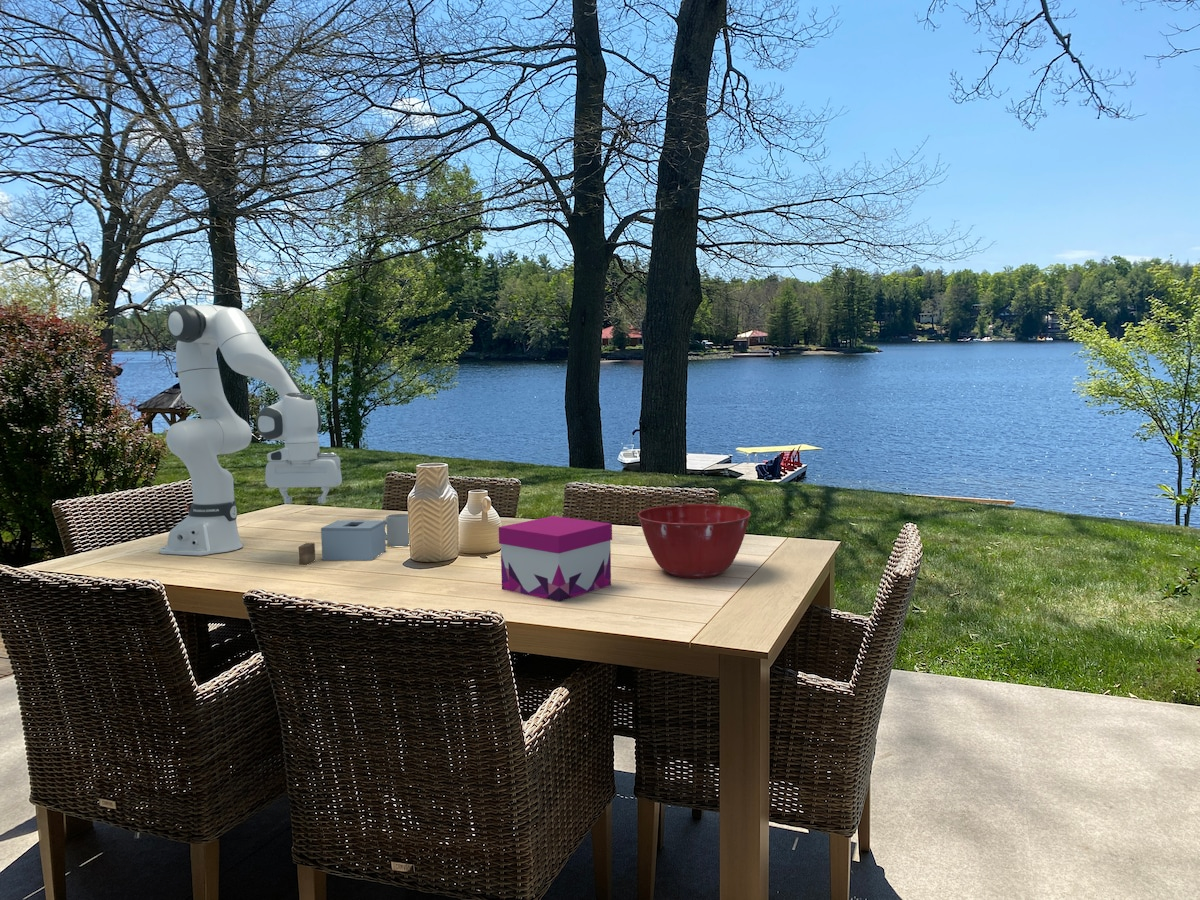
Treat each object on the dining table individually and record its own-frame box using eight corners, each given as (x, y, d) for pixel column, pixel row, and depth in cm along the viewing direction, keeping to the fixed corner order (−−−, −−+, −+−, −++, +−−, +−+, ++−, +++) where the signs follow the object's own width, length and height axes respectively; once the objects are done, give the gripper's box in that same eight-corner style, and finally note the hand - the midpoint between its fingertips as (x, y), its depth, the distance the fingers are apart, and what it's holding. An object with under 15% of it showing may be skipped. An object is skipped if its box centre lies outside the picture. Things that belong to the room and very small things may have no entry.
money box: (322, 560, 232) (321, 528, 231) (338, 551, 244) (337, 520, 243) (371, 560, 231) (370, 528, 230) (385, 551, 243) (384, 520, 242)
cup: (404, 548, 247) (403, 518, 247) (374, 546, 250) (373, 517, 249) (416, 543, 254) (415, 514, 254) (386, 541, 257) (385, 513, 256)
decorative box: (554, 574, 213) (553, 515, 212) (612, 585, 201) (611, 523, 200) (500, 589, 198) (498, 527, 197) (559, 602, 186) (558, 536, 185)
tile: (299, 564, 227) (298, 546, 227) (306, 560, 232) (306, 543, 232) (307, 564, 227) (307, 546, 226) (315, 560, 232) (314, 543, 231)
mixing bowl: (660, 590, 196) (659, 525, 194) (624, 564, 223) (623, 506, 222) (770, 581, 203) (770, 518, 202) (722, 556, 231) (722, 501, 229)
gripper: (344, 451, 229) (346, 501, 230) (271, 452, 231) (274, 502, 232) (335, 453, 223) (338, 504, 224) (261, 454, 224) (263, 505, 226)
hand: (305, 503), depth 228 cm, fingers open, 8 cm apart
